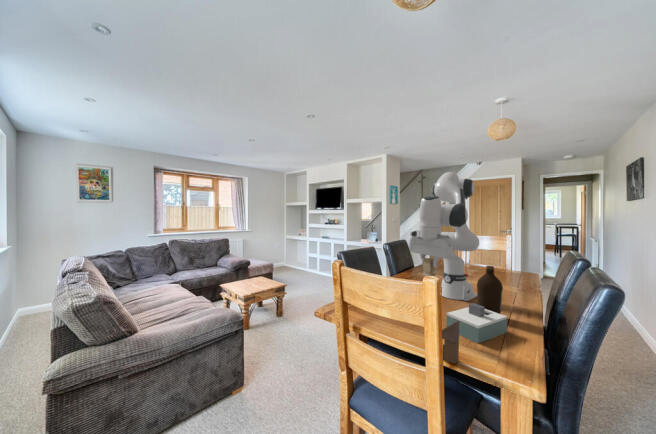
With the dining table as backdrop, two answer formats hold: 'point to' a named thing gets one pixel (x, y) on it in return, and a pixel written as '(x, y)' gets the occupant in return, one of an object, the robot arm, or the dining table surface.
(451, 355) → the wooden block
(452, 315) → the lid
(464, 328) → the open box
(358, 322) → the dining table surface
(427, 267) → the tan rectangular block
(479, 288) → the olive oil
